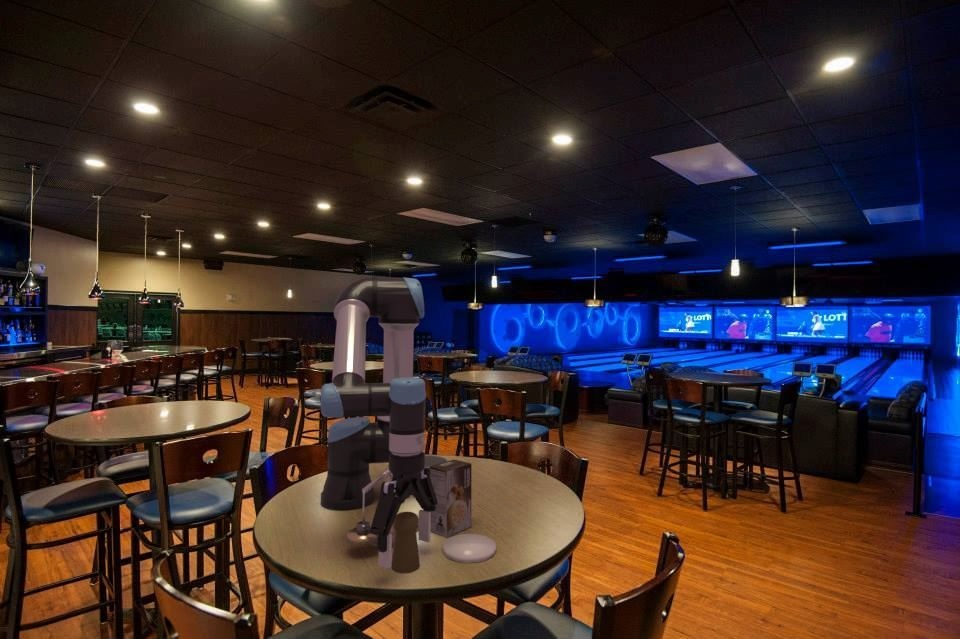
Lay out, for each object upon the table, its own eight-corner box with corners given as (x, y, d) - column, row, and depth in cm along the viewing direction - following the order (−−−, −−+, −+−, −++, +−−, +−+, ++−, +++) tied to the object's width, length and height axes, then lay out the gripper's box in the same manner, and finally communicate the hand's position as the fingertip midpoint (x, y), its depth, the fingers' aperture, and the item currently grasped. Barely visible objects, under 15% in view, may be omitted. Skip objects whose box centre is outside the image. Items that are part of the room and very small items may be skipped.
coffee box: (453, 520, 129) (454, 458, 129) (472, 526, 125) (472, 463, 125) (428, 531, 122) (428, 465, 122) (446, 538, 118) (447, 470, 118)
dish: (432, 554, 109) (432, 549, 109) (460, 535, 120) (460, 530, 120) (479, 567, 104) (479, 562, 104) (504, 545, 114) (504, 540, 114)
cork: (398, 557, 108) (399, 507, 108) (424, 561, 106) (425, 510, 106) (385, 570, 102) (386, 517, 102) (412, 575, 100) (413, 520, 100)
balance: (338, 554, 109) (339, 468, 109) (410, 515, 132) (411, 443, 132) (366, 563, 105) (367, 473, 105) (435, 521, 128) (436, 447, 129)
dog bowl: (461, 473, 171) (461, 458, 171) (428, 488, 155) (429, 470, 156) (422, 465, 180) (422, 451, 180) (388, 478, 164) (388, 462, 165)
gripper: (382, 468, 92) (381, 584, 91) (453, 442, 114) (452, 534, 113) (351, 463, 95) (350, 574, 95) (426, 438, 117) (425, 528, 117)
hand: (405, 553), depth 104 cm, fingers open, 13 cm apart
